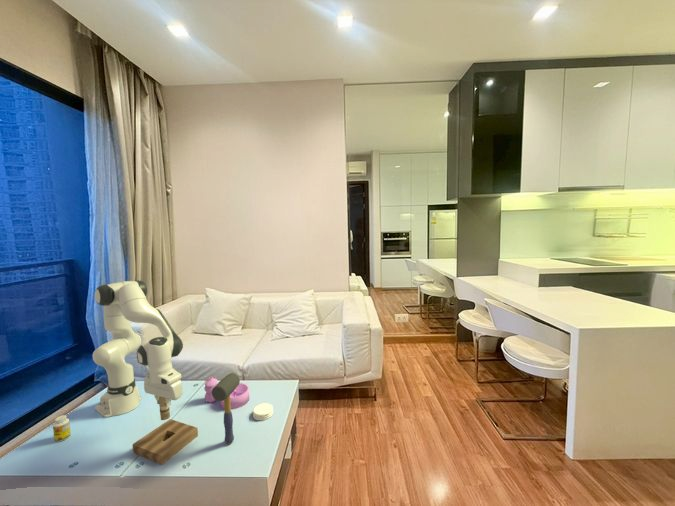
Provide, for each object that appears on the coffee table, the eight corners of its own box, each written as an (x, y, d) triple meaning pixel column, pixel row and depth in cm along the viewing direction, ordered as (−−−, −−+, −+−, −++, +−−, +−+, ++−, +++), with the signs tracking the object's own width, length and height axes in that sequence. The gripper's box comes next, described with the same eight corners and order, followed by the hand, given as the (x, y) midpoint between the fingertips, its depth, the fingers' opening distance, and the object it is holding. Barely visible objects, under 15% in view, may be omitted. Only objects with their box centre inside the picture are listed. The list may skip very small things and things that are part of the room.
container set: (253, 394, 171) (252, 372, 169) (241, 410, 155) (240, 386, 154) (213, 392, 174) (212, 370, 173) (198, 407, 159) (196, 384, 158)
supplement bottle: (51, 441, 135) (49, 420, 135) (65, 433, 141) (63, 413, 140) (59, 443, 134) (57, 422, 133) (73, 435, 139) (71, 415, 138)
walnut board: (133, 452, 127) (132, 444, 127) (170, 426, 144) (170, 419, 143) (161, 464, 120) (161, 455, 120) (197, 435, 137) (197, 427, 136)
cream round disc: (249, 418, 149) (248, 412, 148) (260, 407, 158) (260, 401, 158) (265, 422, 145) (265, 416, 145) (276, 411, 154) (276, 404, 154)
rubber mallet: (229, 453, 125) (225, 386, 123) (213, 451, 127) (209, 385, 124) (244, 433, 137) (240, 372, 135) (229, 432, 139) (225, 371, 136)
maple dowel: (158, 419, 130) (156, 393, 129) (166, 414, 133) (164, 389, 132) (164, 421, 128) (162, 395, 127) (172, 416, 132) (169, 390, 131)
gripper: (138, 374, 130) (141, 404, 131) (171, 382, 122) (173, 413, 124) (152, 368, 136) (154, 396, 137) (184, 375, 128) (186, 405, 129)
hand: (164, 404), depth 130 cm, fingers closed on maple dowel, 4 cm apart
